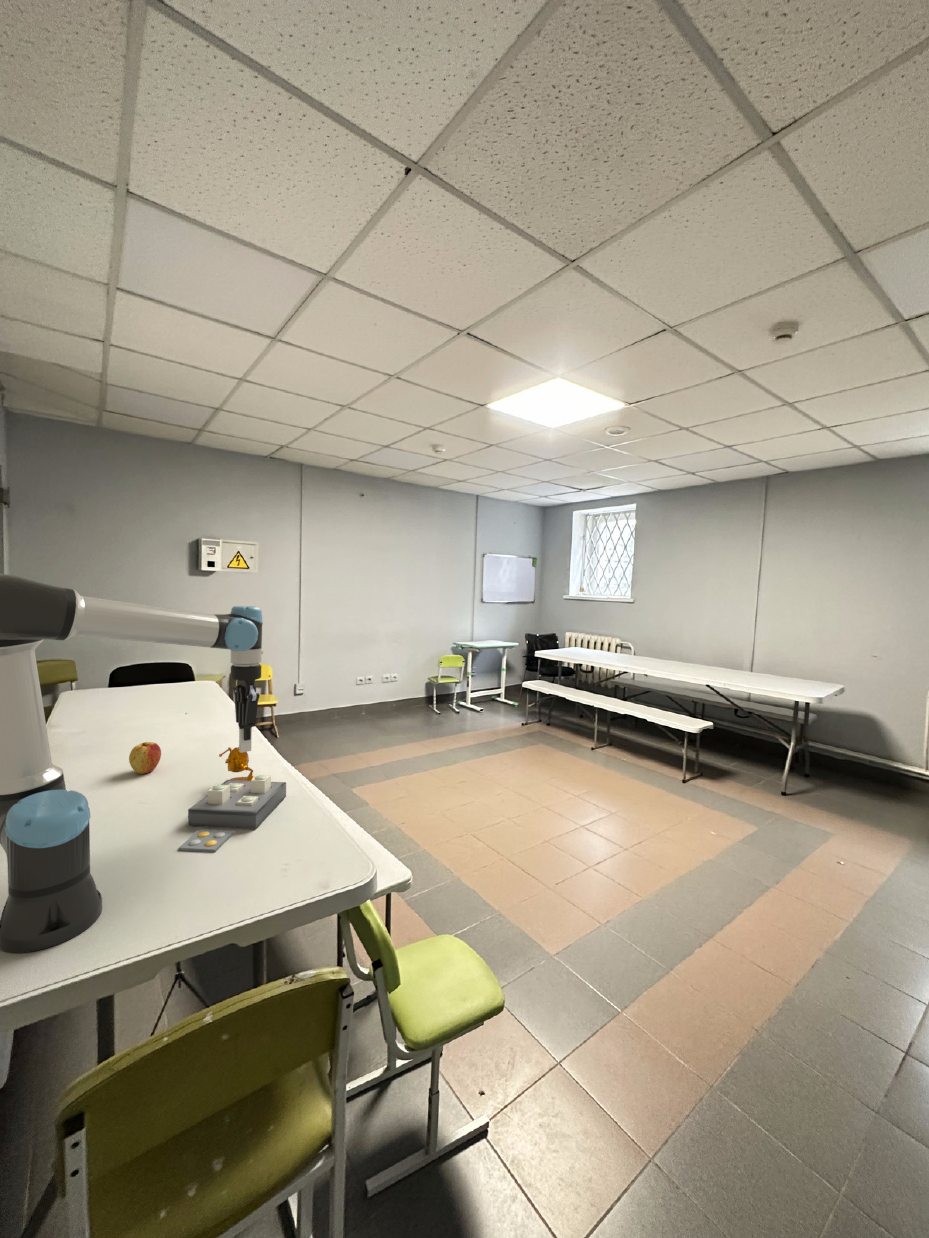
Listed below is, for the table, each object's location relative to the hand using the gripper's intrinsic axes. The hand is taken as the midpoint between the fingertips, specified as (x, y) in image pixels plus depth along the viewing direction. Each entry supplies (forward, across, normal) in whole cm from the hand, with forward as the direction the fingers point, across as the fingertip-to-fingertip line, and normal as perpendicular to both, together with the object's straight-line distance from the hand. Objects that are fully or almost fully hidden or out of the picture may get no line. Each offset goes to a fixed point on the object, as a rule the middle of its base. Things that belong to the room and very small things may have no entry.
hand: (245, 750), depth 134 cm
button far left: (+18, +11, -1) cm, 21 cm away
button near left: (+15, +6, +5) cm, 17 cm away
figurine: (+19, +25, -7) cm, 32 cm away
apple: (+19, +54, +13) cm, 59 cm away
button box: (+19, +6, -1) cm, 20 cm away
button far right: (+15, +6, -7) cm, 17 cm away
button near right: (+18, 0, -1) cm, 18 cm away
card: (+19, -6, +11) cm, 23 cm away
